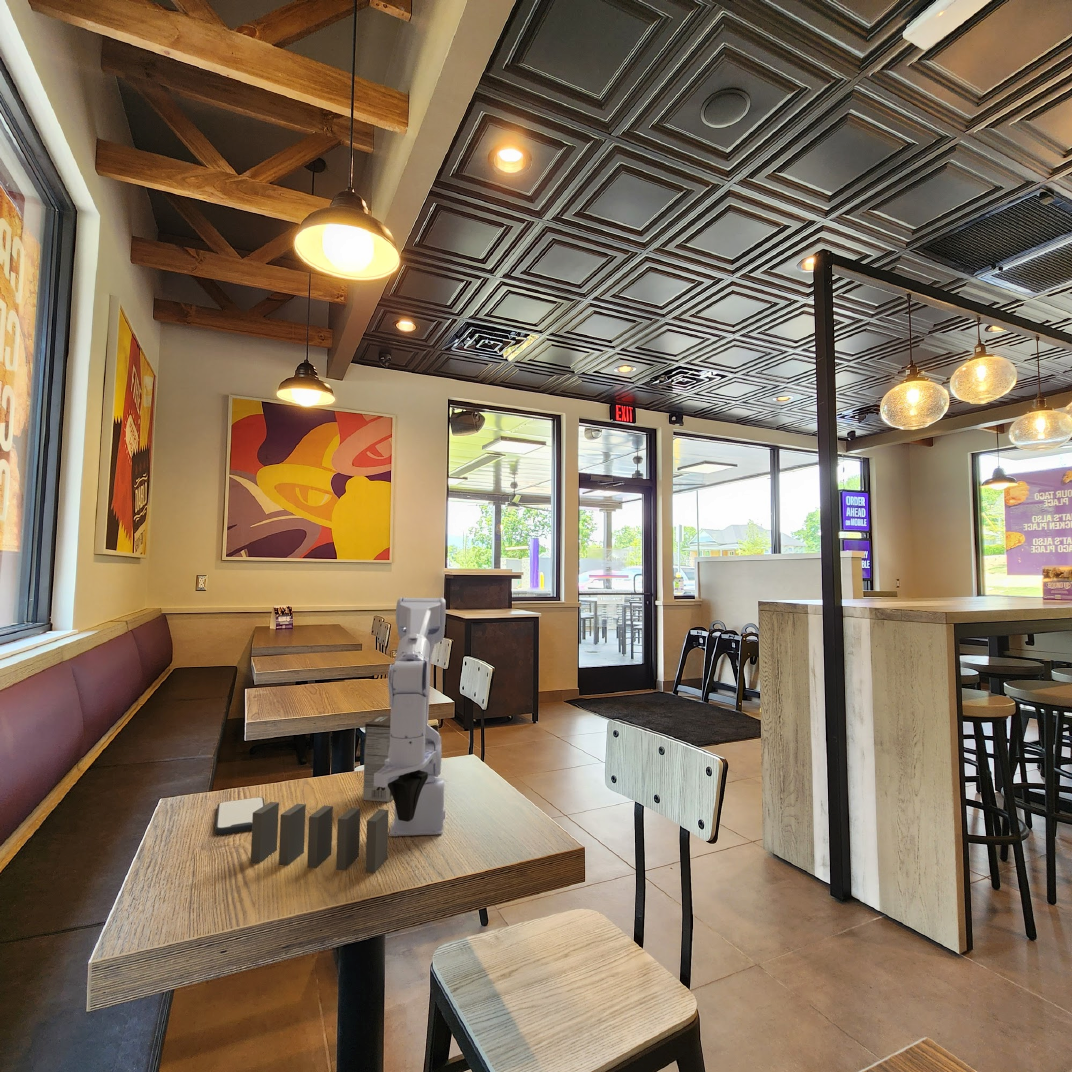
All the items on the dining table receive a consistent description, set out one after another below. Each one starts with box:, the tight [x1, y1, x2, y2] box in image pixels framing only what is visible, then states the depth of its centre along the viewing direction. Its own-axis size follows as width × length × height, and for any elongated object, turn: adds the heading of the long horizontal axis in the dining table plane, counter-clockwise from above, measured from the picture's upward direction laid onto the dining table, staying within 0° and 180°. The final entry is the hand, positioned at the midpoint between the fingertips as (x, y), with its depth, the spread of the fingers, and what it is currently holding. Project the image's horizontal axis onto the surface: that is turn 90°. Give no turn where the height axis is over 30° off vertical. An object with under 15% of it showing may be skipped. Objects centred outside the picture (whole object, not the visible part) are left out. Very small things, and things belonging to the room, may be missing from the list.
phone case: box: [214, 796, 266, 836], centre depth 117 cm, size 9×2×16 cm
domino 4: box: [364, 808, 389, 874], centre depth 98 cm, size 2×5×8 cm, turn 171°
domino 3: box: [335, 807, 361, 872], centre depth 99 cm, size 2×5×8 cm, turn 171°
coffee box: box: [362, 714, 394, 803], centre depth 131 cm, size 9×6×16 cm
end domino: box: [250, 801, 280, 864], centre depth 101 cm, size 2×5×8 cm, turn 171°
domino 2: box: [306, 805, 334, 869], centre depth 99 cm, size 2×5×8 cm, turn 171°
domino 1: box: [278, 803, 307, 867], centre depth 100 cm, size 2×5×8 cm, turn 171°
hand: (405, 819), depth 98 cm, fingers closed
